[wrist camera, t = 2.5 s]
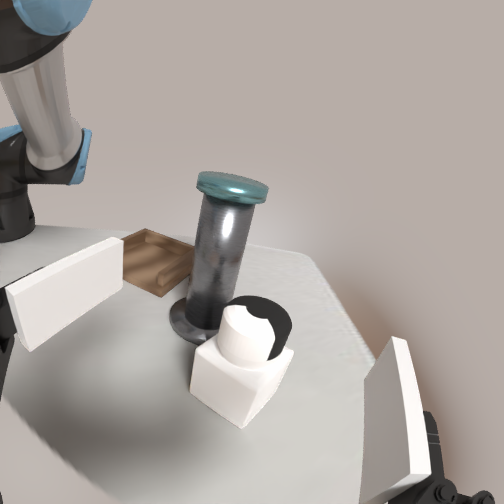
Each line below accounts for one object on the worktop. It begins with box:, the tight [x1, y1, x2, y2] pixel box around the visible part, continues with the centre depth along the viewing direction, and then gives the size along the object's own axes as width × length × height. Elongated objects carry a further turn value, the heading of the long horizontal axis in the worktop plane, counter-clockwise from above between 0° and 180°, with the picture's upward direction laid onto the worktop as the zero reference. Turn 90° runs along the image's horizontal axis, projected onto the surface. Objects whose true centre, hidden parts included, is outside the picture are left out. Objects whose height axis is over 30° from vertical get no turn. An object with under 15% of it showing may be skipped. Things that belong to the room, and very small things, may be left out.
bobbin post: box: [170, 171, 269, 345], centre depth 35 cm, size 10×10×20 cm
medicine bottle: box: [189, 296, 294, 429], centre depth 26 cm, size 7×7×12 cm
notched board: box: [120, 229, 194, 298], centre depth 48 cm, size 14×14×4 cm
